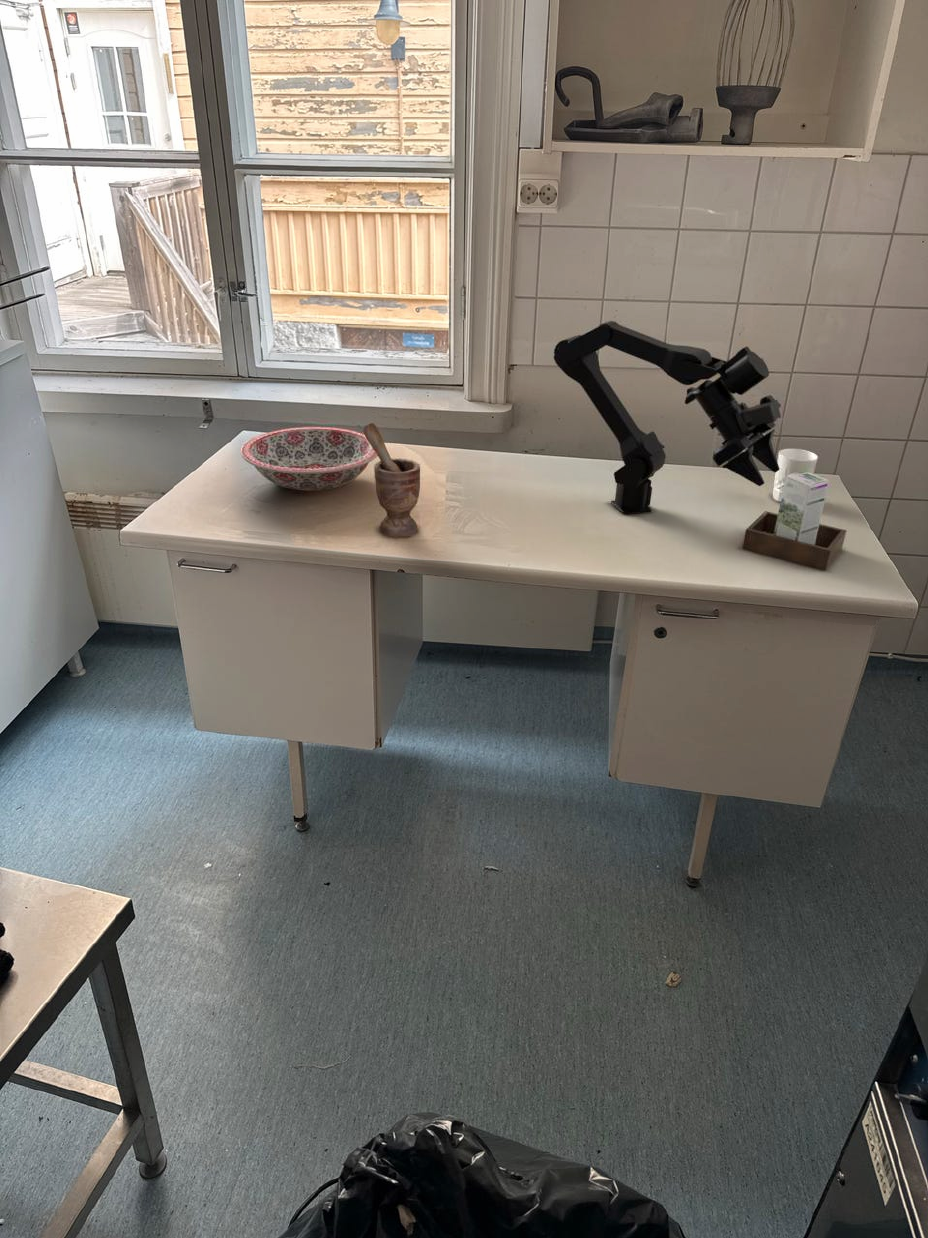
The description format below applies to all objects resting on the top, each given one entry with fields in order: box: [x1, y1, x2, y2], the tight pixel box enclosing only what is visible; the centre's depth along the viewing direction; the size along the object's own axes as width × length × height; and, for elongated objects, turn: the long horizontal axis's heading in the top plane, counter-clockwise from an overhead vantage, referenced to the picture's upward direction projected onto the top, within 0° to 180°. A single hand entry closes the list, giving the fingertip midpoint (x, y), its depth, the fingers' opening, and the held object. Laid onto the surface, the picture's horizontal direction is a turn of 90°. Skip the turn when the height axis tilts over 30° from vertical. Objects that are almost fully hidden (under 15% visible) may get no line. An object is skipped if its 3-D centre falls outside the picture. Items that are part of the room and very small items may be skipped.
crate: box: [741, 510, 847, 571], centre depth 171 cm, size 16×12×4 cm
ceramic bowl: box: [240, 426, 378, 492], centre depth 193 cm, size 29×29×8 cm
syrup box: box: [773, 471, 830, 545], centre depth 169 cm, size 6×6×14 cm
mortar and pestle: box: [362, 422, 421, 538], centre depth 170 cm, size 12×9×20 cm
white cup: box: [772, 448, 819, 503], centre depth 193 cm, size 8×8×10 cm
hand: (769, 477), depth 169 cm, fingers open, 9 cm apart
